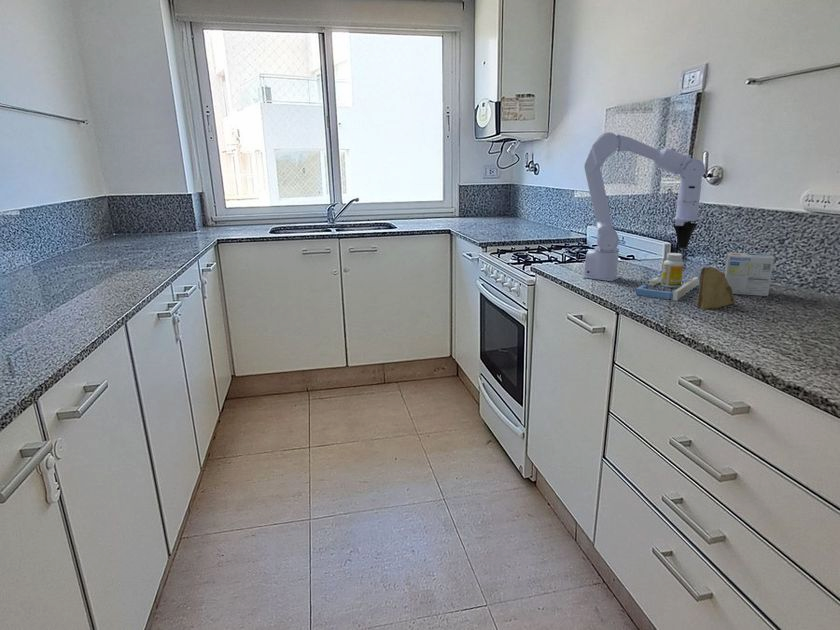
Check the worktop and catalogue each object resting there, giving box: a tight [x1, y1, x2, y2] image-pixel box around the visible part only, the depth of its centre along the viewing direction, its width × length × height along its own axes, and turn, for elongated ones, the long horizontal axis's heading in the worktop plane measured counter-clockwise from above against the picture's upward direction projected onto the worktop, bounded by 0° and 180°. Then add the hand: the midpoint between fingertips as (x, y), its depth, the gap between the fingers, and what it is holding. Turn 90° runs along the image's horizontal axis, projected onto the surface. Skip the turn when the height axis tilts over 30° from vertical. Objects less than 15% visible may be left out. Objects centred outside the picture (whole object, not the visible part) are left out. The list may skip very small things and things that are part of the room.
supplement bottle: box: [660, 252, 685, 289], centre depth 149 cm, size 5×5×10 cm
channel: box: [635, 276, 699, 302], centre depth 145 cm, size 11×21×2 cm, turn 139°
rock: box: [696, 267, 736, 310], centre depth 128 cm, size 11×9×10 cm
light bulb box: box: [723, 251, 775, 297], centre depth 140 cm, size 11×7×11 cm, turn 65°
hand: (682, 247), depth 153 cm, fingers closed
